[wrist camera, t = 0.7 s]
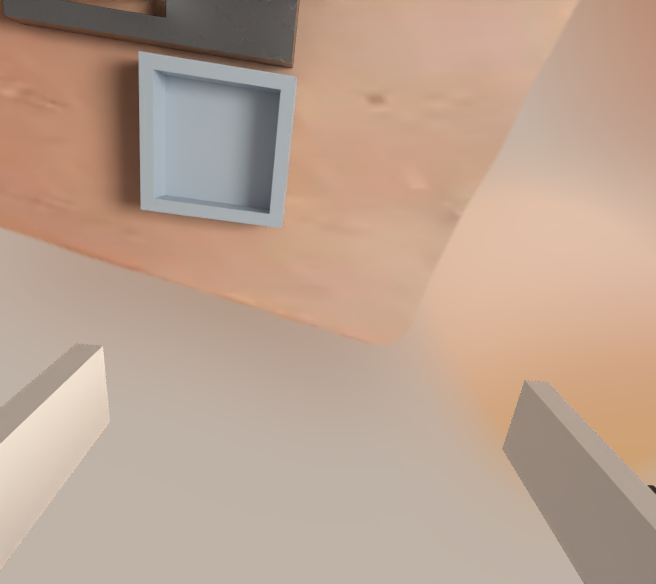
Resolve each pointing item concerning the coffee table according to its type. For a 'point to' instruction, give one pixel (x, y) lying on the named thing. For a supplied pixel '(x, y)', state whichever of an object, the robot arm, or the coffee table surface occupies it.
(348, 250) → the coffee table surface
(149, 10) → the coffee table surface
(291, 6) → the grey slotted plate
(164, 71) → the tray
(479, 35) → the coffee table surface
